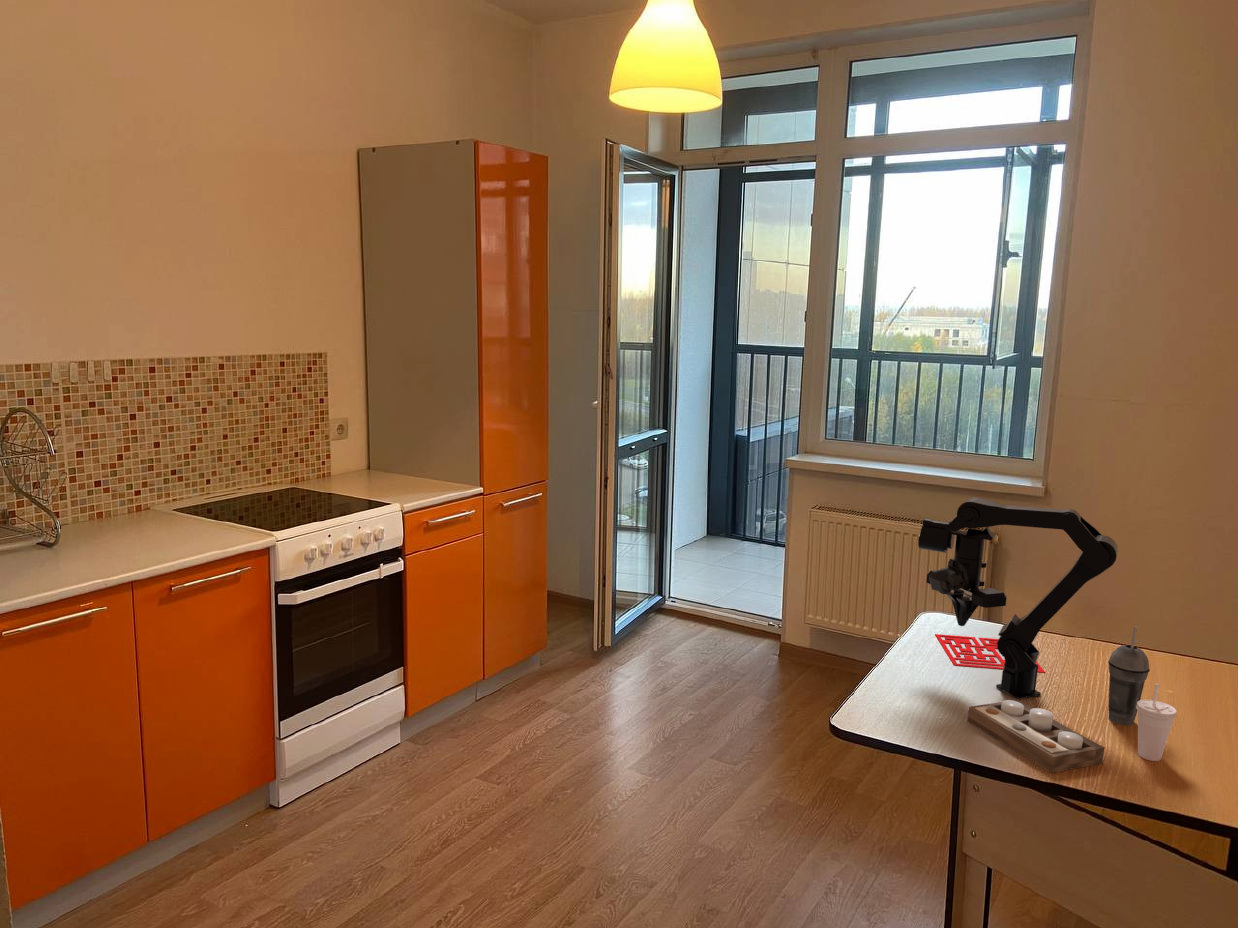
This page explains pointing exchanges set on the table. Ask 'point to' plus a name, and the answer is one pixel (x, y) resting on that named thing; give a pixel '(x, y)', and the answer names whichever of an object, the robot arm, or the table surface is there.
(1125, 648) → the beverage cup
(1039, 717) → the button middle
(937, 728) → the table surface
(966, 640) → the maze puzzle
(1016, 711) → the button
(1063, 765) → the button board
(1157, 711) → the smoothie
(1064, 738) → the button
